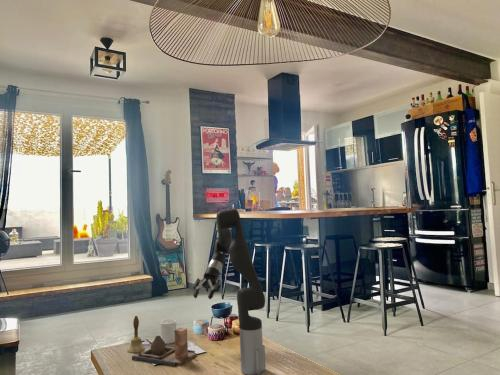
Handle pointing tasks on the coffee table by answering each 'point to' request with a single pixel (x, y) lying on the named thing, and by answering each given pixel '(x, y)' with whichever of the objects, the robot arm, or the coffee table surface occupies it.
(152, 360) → the lane rails
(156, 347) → the vase
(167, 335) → the white cup
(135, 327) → the hand bell
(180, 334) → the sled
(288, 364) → the coffee table surface
